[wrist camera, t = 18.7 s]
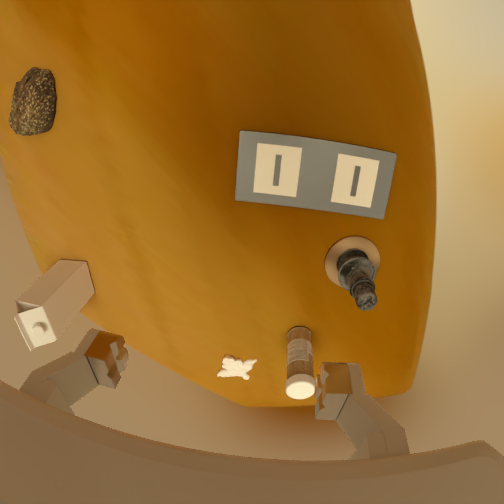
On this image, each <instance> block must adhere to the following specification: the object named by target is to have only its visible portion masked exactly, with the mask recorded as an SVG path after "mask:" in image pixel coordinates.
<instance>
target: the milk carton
mask: <svg viewBox="0 0 504 504" xmlns="http://www.w3.org/2000/svg"><path fill="white" fill-rule="evenodd" d="M94 293H95V291H94V287H93V284H92V280H91V276H90V273H89V269H88V265H87V262H85V261H72V260H59V261H58V262H57V263H56V264H54V265H53V266H52V267H51V268H50V269H49V270H48V271H47V272H45V273H44V274H43V275H42V276H41V277H40V278H39V279H38V280H37V281H36V282H35V283H34V284H32V286H30V287H29V288H28V289H27V290H26V291H25V292H24V293H23V294H22V295H21V296H20V297H19V298H18V299H17V300H16V306H17V312H18V314H17V315H16V316H15V317H14V319H15V321H16V323H17V325H18V327H19V329H20V331H21V333H22V335H23V337H24V339H25V341H26V343H27V345H28V347H29V349H30V351H32V350H33V349H34V348H35V347H38V346H41V345H44V344H47V343H50V342H54V341H56V340H57V339H58V338H59V336H60V335H61V334H62V333H63V331H64V330H65V329H66V327H67V326H68V325H69V324H70V322H71V321H72V320H73V319H74V317H75V316H76V315H77V314H78V312H79V311H80V310H81V309H82V308H83V306H84V305H85V304H86V303H87V302H88V300H89V299H90V298H91V297H92V296H93V294H94Z"/></svg>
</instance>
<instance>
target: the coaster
mask: <svg viewBox="0 0 504 504" xmlns="http://www.w3.org/2000/svg"><path fill="white" fill-rule="evenodd" d="M352 248H358V249H361V250H362V251H364V252H365V253H366V254H367V256H368V259H369V260H370V261H371V262H372V263H373V264H374V266H375V268H376V273H377V271H378V268H379V265H380V255H379V252H378V250H377V248H376V246H375V245H374V244H373V243H372V242H371V241H370V240H369V239H367V238H364V237H361V236H349V237H345V238H343V239H340V240H339V241H337V242H336V243H335V244H333V245H332V247H331V248H330V249H329V251H328V252H327V255H326V258H325V270H326V273H327V275H328V277H329V279H330V280H331V281H332V282H333V283H335V284H336V285H338V286H341V285H340V283H339V281H338V270H337V266H336V264H337V260H338V257H339V256H340V255H341V253H343V252H344V251H346V250H348V249H352ZM341 287H342V286H341Z"/></svg>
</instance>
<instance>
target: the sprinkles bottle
mask: <svg viewBox="0 0 504 504" xmlns="http://www.w3.org/2000/svg"><path fill="white" fill-rule="evenodd" d="M311 337H312V336H311V332H310V331H309V330H308V329H307V328H305V327H295V328H292V329H291V330H290V331H289V332H288V334H287V339H288V346H287V381H286V393H287V395H288V396H290V397H292V398H294V399H305V398H308V397H310V396H312V395H313V394H314V392H315V379H314V374H313V352H312V344H311Z"/></svg>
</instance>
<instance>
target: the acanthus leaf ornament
mask: <svg viewBox="0 0 504 504" xmlns="http://www.w3.org/2000/svg"><path fill="white" fill-rule="evenodd" d="M256 361H257V360H256V359H254V360H251V359H250V360H246V361H245V362H244V363H243V362H242V360H241V359H240V358H238V359H235V358H234V357H231V356H229V355H226V356H225V357H224V358H223V361H222V363H223V364H222V367H223V368H224V369H221V370H220V371H219V372H218V374H217V376H218V377H219V376H222V377H225V376H226V377H231V376H241V377H243V378H244V379H245V380H248V379H249V378H250V376H248V375H247V371H249V370H251V369H252V368H253V365H254V363H255V362H256Z"/></svg>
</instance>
